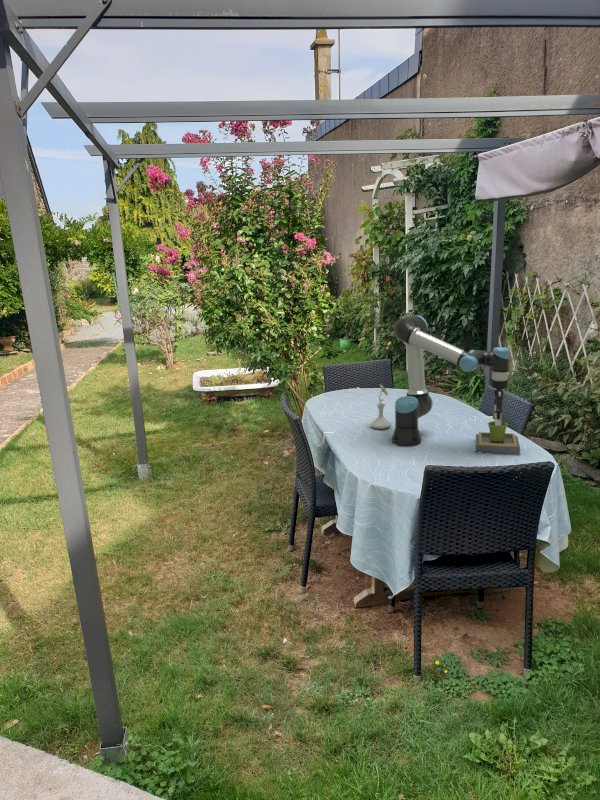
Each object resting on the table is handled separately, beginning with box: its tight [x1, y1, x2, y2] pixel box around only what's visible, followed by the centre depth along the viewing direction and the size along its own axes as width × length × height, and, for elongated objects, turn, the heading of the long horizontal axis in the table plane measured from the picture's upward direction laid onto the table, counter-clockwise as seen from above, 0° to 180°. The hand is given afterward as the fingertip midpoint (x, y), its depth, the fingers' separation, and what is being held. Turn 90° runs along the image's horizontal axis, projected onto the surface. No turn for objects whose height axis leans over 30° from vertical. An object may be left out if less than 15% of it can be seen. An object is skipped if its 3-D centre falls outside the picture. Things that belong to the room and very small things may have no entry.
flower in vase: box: [370, 384, 392, 430], centre depth 324 cm, size 13×11×25 cm
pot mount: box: [475, 431, 521, 456], centre depth 284 cm, size 20×18×5 cm
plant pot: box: [487, 420, 508, 442], centre depth 283 cm, size 9×9×9 cm
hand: (497, 421), depth 282 cm, fingers open, 13 cm apart
